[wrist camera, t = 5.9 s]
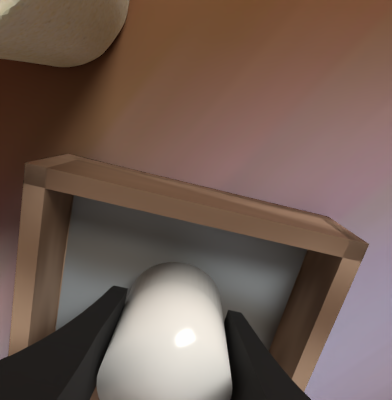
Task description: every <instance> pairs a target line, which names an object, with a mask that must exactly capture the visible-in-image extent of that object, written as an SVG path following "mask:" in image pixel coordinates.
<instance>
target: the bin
mask: <svg viewBox="0 0 392 400" xmlns="http://www.w3.org/2000/svg"><path fill="white" fill-rule="evenodd" d="M368 245H369V244H368V243H366V242H365V241H363V240H362V239H361V238H359V237H358V236H356V235H355V234H353V233H352V232H350V231H349V230H347V229H346V228H344V227H343V226H341V225H340V224H338V223H337V222H335V221H334V220H332V219H331V218H329V217H327V216H323V215H319V214H315V213H311V212H307V211H303V210H298V209H294V208H290V207H286V206H282V205H278V204H274V203H270V202H265V201H261V200H257V199H253V198H249V197H245V196H241V195H236V194H232V193H228V192H224V191H220V190H216V189H212V188H208V187H203V186H199V185H195V184H191V183H187V182H183V181H179V180H174V179H170V178H166V177H162V176H158V175H154V174H150V173H146V172H141V171H137V170H133V169H129V168H125V167H121V166H117V165H112V164H108V163H104V162H100V161H96V160H92V159H88V158H84V157H79V156H75V155H71V154H64V155H60V156H55V157H50V158H45V159H40V160H35V161H30V162H25V170H24V182H23V193H22V205H21V216H20V228H19V239H18V251H17V262H16V274H15V285H14V297H13V308H12V320H11V331H10V343H9V354H8V356H10V355H13V354H15V353H17V352H19V351H21V350H23V349H25V348H27V347H28V346H30V345H32V344H34V343H36V342H38V341H40V340H41V339H43V338H45V337H46V336H48V335H50V334H51V333H53V332H55V331H56V330H58V329H59V328H61V327H62V326H64V325H65V324H67V323H68V322H69V321H71V320H72V319H74V318H75V317H76V316H78V315H79V314H81V313H82V312H83V311H84V310H86V309H87V308H88V307H89V306H91V305H92V304H93V303H94V302H95V301H97V300H98V299H99V298H100V297H101V296H102V295H103V294H104V293H105V292H107V291H108V290H109V289H110V288H111V287H112V286H119V287H124V288H128V291H127V296H126V300H127V298H128V295H129V293H130V290H131V288H132V285H133V283H134V282H135V280H136V279H137V278H138V277H139V276H140V275H141V274H142V273H143V272H144V271H146V270H147V269H149V268H151V267H153V266H155V265H158V264H161V263H166V262H181V263H187V264H190V265H193V266H195V267H197V268H199V269H201V270H203V271H204V272H205V273H206V274H208V275H209V276H210V277H211V278H212V280H213V281H214V282H215V284H216V286H217V288H218V290H219V293H220V298H221V305H222V313H223V320H224V321H225V318H226V315H227V312H228V310H232V311H236V312H241V313H242V314H243V315H244V317H245V318H246V320H247V321H248V323H249V324H250V326H251V327H252V329H253V330H254V332H255V333H256V334H257V336H258V337H259V339H260V340H261V341H262V343H263V344H264V346H265V347H266V348H267V350H268V351H269V352H270V354H271V355H272V356H273V358H274V359H275V360H276V361H277V363H278V364H279V365H280V366H281V367H282V369H283V370H284V371H285V372H286V373H287V375H288V376H289V377H290V378H291V379H292V380H293V381H294V382H295V383H296V384H297V386H298V387H299V388H300V389H301V390H302V391H303V392H304V390H305V388H306V386H307V384H308V381H309V379H310V377H311V375H312V372H313V370H314V368H315V365H316V363H317V361H318V359H319V356H320V354H321V352H322V350H323V347H324V345H325V343H326V341H327V338H328V336H329V334H330V332H331V329H332V327H333V325H334V322H335V320H336V318H337V316H338V313H339V311H340V309H341V307H342V304H343V302H344V300H345V298H346V295H347V293H348V291H349V288H350V286H351V284H352V282H353V279H354V277H355V275H356V273H357V270H358V268H359V266H360V264H361V261H362V259H363V257H364V255H365V252H366V250H367V248H368ZM126 300H125V303H126ZM90 400H100V399H99V397H98V393H97V385H96V387H95V389H94V392H93V394H92V396H91V398H90Z"/></svg>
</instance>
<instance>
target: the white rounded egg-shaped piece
mask: <svg viewBox="0 0 392 400" xmlns="http://www.w3.org/2000/svg"><path fill="white" fill-rule="evenodd" d="M97 393H98V397H99V399H100V400H230V399H231V396H232V378H231V371H230V364H229V356H228V349H227V342H226V335H225V327H224V320H223V313H222V305H221V298H220V293H219V290H218V288H217V286H216V284H215V282H214V281H213V280H212V278H211V277H210V276H209V275H208V274H206V273H205V272H204V271H203V270H201V269H199V268H197V267H195V266H193V265H190V264H187V263H181V262H166V263H161V264H158V265H155V266H153V267H151V268H149V269H147V270H146V271H144V272H143V273H142V274H141V275H140V276H139V277H138V278H137V279H136V280H135V282H134V283H133V285H132V288H131V290H130V293H129V295H128V298H127V300H126V303H125V305H124V308H123V310H122V313H121V315H120V318H119V320H118V323H117V325H116V328H115V331H114V333H113V336H112V338H111V341H110V343H109V346H108V348H107V351H106V353H105V356H104V358H103V361H102V363H101V366H100V369H99V372H98V375H97Z"/></svg>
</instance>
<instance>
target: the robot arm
mask: <svg viewBox="0 0 392 400" xmlns="http://www.w3.org/2000/svg"><path fill="white" fill-rule="evenodd" d="M127 291H128V288H124V287H119V286H112V287H111V288H110V289H109V290H108V291H107V292H105V293H104V294H103V295H102V296H101V297H100V298H99V299H98V300H97V301H95V302H94V303H93V304H92V305H91V306H89V307H88V308H87V309H86V310H84V311H83V312H82V313H81V314H79V315H78V316H76V317H75V318H74V319H72V320H71V321H69V322H68V323H67V324H65V325H64V326H62V327H61V328H59V329H58V330H56V331H55V332H53V333H51V334H50V335H48V336H46V337H45V338H43V339H41V340H40V341H38V342H36V343H34V344H32V345H30V346H28V347H27V348H25V349H23V350H21V351H19V352H17V353H15V354H13V355H10V356H8V357H6V358H4V359H1V360H0V400H90V398H91V396H92V394H93V392H94V389H95V387H96V385H97V375H98V372H99V369H100V366H101V363H102V361H103V358H104V356H105V353H106V351H107V348H108V346H109V343H110V341H111V338H112V336H113V333H114V331H115V328H116V325H117V323H118V320H119V318H120V315H121V313H122V310H123V308H124V305H125V300H126V296H127ZM224 327H225V335H226V342H227V349H228V356H229V364H230V371H231V378H232V396H231V399H230V400H311V399H310V398H309V397H308V396H307V395H306V394H305V393H304V392H303V391H302V390H301V389H300V388H299V387H298V386H297V384H296V383H295V382H294V381H293V380H292V379H291V378H290V377H289V376H288V375H287V373H286V372H285V371H284V370H283V369H282V367H281V366H280V365H279V364H278V363H277V361H276V360H275V359H274V358H273V356H272V355H271V354H270V352H269V351H268V350H267V348H266V347H265V346H264V344H263V343H262V341H261V340H260V339H259V337H258V336H257V334H256V333H255V332H254V330H253V329H252V327H251V326H250V324H249V323H248V321H247V320H246V318H245V317H244V315H243V314H242V313H241V312H236V311H232V310H228V312H227V315H226V318H225V321H224Z"/></svg>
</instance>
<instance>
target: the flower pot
mask: <svg viewBox="0 0 392 400" xmlns="http://www.w3.org/2000/svg"><path fill="white" fill-rule="evenodd" d="M128 6H129V0H0V59H7V60H15V61H23V62H29V63H36V64H43V65H49V66H55V67H73V66H78V65H82V64H85V63H88V62H90V61H92V60H95V59H96V58H98V57H99V56H101V55H102V54H103V53H104V52H105V51H106V50H107V48H108V47H109V46H110V45H111V43H112V42H113V41H114V39H115V38H116V36H117V35H118V33H119V32H120V30H121V28H122V26H123V25H124V22H125V20H126V16H127V12H128Z"/></svg>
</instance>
